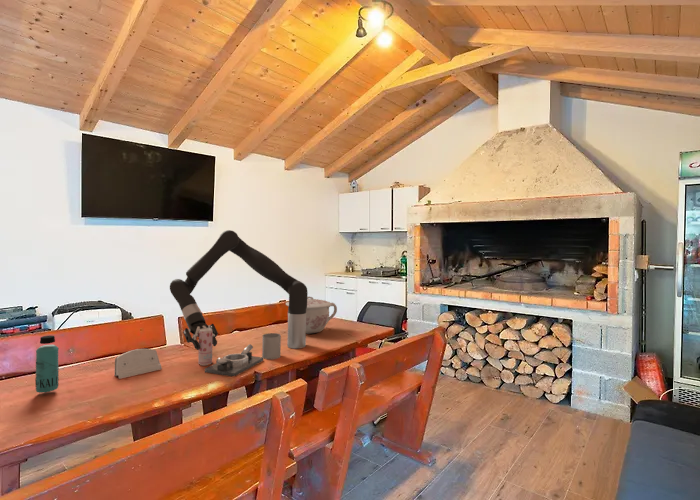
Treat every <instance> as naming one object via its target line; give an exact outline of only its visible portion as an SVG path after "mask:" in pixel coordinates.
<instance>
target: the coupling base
mask: <svg viewBox="0 0 700 500" xmlns="http://www.w3.org/2000/svg"><path fill="white" fill-rule="evenodd" d="M253 348H254V346H253V345H252V344H250V343H249V344H248V345H247V346H246V347H245V348H244V349H243V350H242V351H241V352H240V353H239V352H238V353H229V354H227V355H224V356H222V357H218V358H217V359H216V360H215V362H216V363H214V364H210V365H208V366H207V367H205V368H204V373H207V374H214V375H220V376H227V377H232V376H235V377H236V376H238V375H241V373H243V372H246V371H248V370H249V369H251V368H252V367H255V366H257V365H258V364H261V363H263V362H264V358H263V357H261V356H256V355H253V352H252V350H253Z"/></svg>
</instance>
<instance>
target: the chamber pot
mask: <svg viewBox="0 0 700 500" xmlns="http://www.w3.org/2000/svg"><path fill="white" fill-rule="evenodd" d="M285 306H287V307H289V301H287V302H285ZM331 307H333V312H332V314H331V315H330V308H331ZM337 313H338V307H337V304H336V303H334V302H330V301H327V300H325V299H319V298H318V299H316V298H314V297H312V296H307V309H306V335H312V334H317V333H321V331H323V330H324V329H325V328H326V325H327V324H328V323H329V322H330V321H331V320H332V319H333V318H334V317H335V316H336V314H337Z"/></svg>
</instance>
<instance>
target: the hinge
mask: <svg viewBox="0 0 700 500" xmlns="http://www.w3.org/2000/svg"><path fill="white" fill-rule="evenodd" d="M162 369H163V368H162V364H161V362H160V358H159V355H158V352H157V350H156V349H151V348H136V349H132V350H129V351H127V352H123V353H122V354H120V355H118V356H117V357H115V359H114V377H118V379H119V380H121V379H125V378H129V377H134V376H137V375H143V374H147V373H150V372H151V373H152V372H155V371H159V370H162Z"/></svg>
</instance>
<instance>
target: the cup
mask: <svg viewBox="0 0 700 500" xmlns="http://www.w3.org/2000/svg"><path fill="white" fill-rule="evenodd" d="M281 335H282V334H280V333H276V332H274V333H273V332H269V333H265V334H263V335H262V342H261V343H262V348H261V349H262V352H261V356H262V357H263V360H264V359H265V360H277V359H280V358H281V350H282V349H281V347H282V345H281V343H282V337H281Z"/></svg>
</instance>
